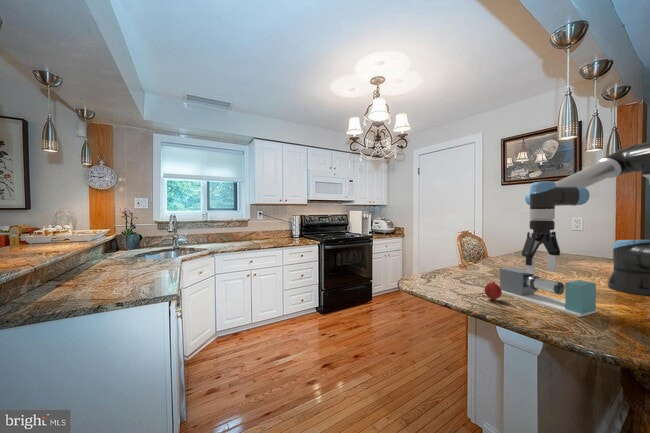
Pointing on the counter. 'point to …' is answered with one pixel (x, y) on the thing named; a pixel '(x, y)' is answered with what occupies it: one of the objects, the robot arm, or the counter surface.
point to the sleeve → (514, 281)
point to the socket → (580, 296)
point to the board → (547, 302)
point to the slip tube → (543, 284)
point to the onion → (493, 290)
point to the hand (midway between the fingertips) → (541, 272)
